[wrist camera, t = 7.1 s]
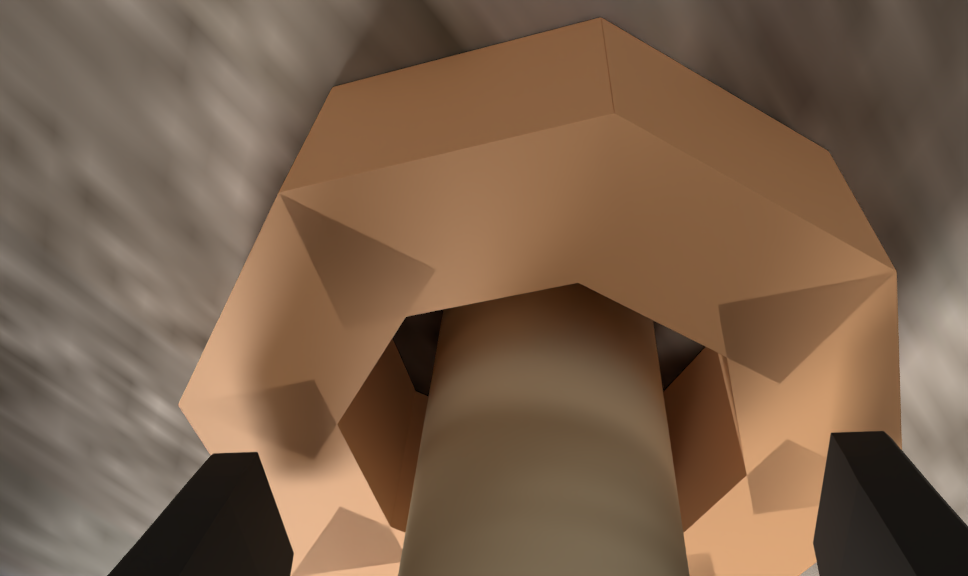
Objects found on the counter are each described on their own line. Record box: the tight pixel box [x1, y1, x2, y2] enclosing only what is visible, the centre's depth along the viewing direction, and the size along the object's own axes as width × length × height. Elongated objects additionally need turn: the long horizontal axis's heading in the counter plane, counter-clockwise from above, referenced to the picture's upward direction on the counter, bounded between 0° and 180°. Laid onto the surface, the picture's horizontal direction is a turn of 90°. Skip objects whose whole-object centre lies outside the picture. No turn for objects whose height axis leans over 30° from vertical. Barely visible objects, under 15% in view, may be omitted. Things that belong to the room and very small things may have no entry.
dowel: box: [398, 283, 690, 576], centre depth 11 cm, size 3×3×8 cm
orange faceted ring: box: [178, 17, 902, 576], centre depth 13 cm, size 9×9×3 cm
